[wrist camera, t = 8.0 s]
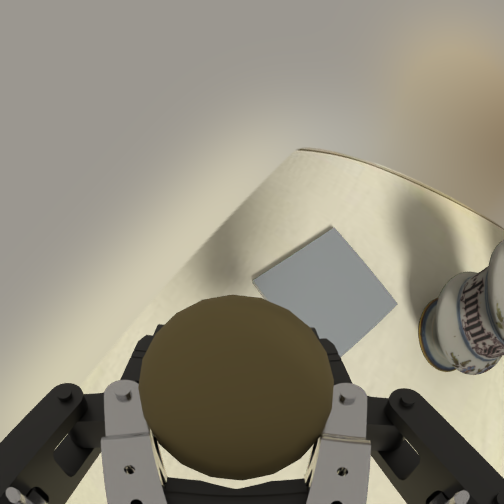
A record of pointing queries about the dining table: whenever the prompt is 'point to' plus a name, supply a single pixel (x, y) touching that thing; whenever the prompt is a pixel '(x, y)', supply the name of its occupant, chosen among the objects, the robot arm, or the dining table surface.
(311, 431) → the brown pawn
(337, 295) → the slate tile
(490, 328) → the apothecary jar
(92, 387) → the dining table surface
